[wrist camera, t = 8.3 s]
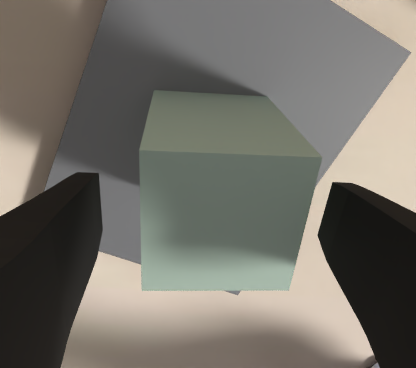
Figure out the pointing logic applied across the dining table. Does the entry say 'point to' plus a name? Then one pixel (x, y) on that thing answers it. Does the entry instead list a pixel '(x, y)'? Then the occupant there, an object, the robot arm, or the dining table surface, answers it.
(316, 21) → the slate board
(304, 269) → the dining table surface
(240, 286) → the sage block
